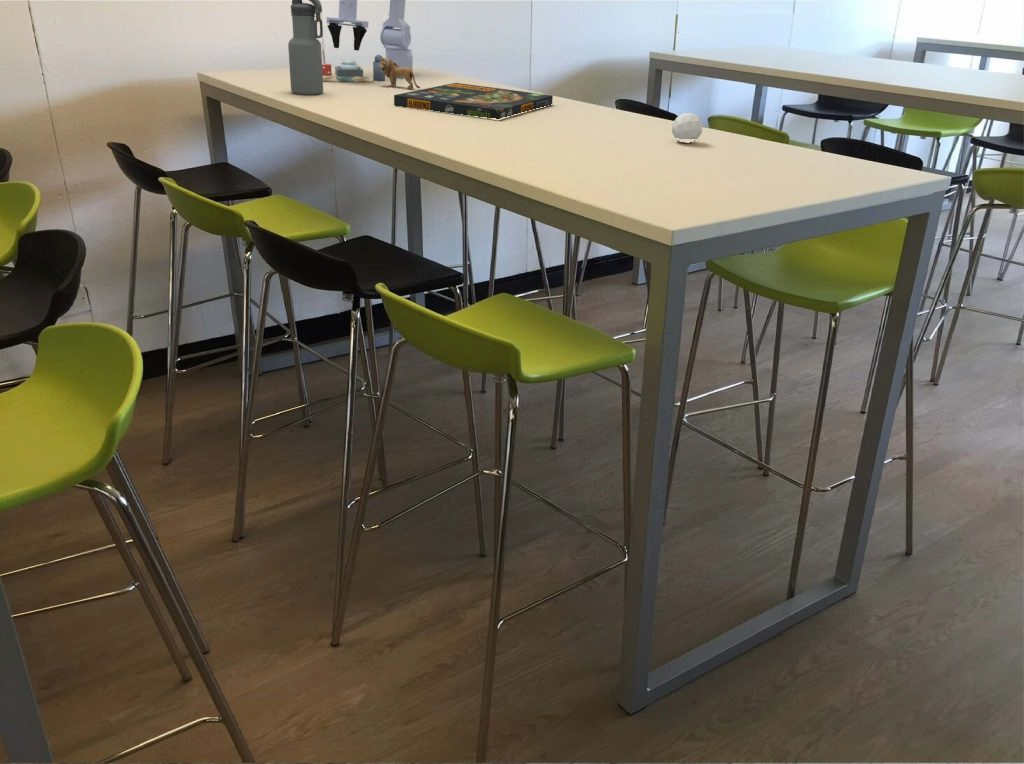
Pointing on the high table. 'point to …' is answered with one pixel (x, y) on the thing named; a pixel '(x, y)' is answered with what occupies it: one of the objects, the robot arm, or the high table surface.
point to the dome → (349, 64)
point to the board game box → (473, 100)
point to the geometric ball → (687, 126)
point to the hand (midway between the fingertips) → (346, 49)
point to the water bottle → (306, 49)
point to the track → (346, 79)
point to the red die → (326, 69)
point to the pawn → (377, 69)
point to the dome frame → (348, 72)
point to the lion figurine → (396, 72)
